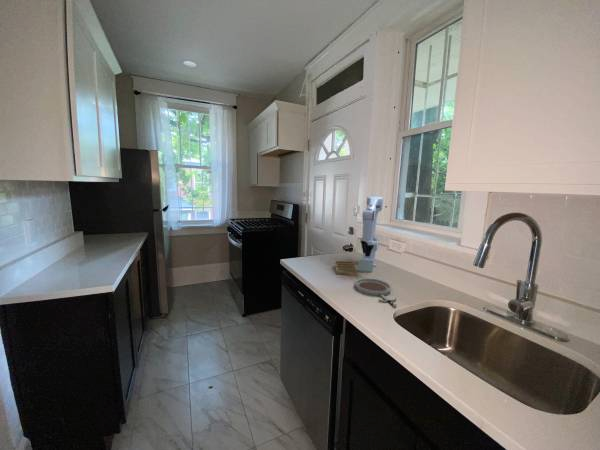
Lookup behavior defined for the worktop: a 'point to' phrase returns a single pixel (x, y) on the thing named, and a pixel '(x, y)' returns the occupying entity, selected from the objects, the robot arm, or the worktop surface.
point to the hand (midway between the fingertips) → (366, 254)
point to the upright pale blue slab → (365, 265)
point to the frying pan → (375, 288)
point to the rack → (345, 268)
